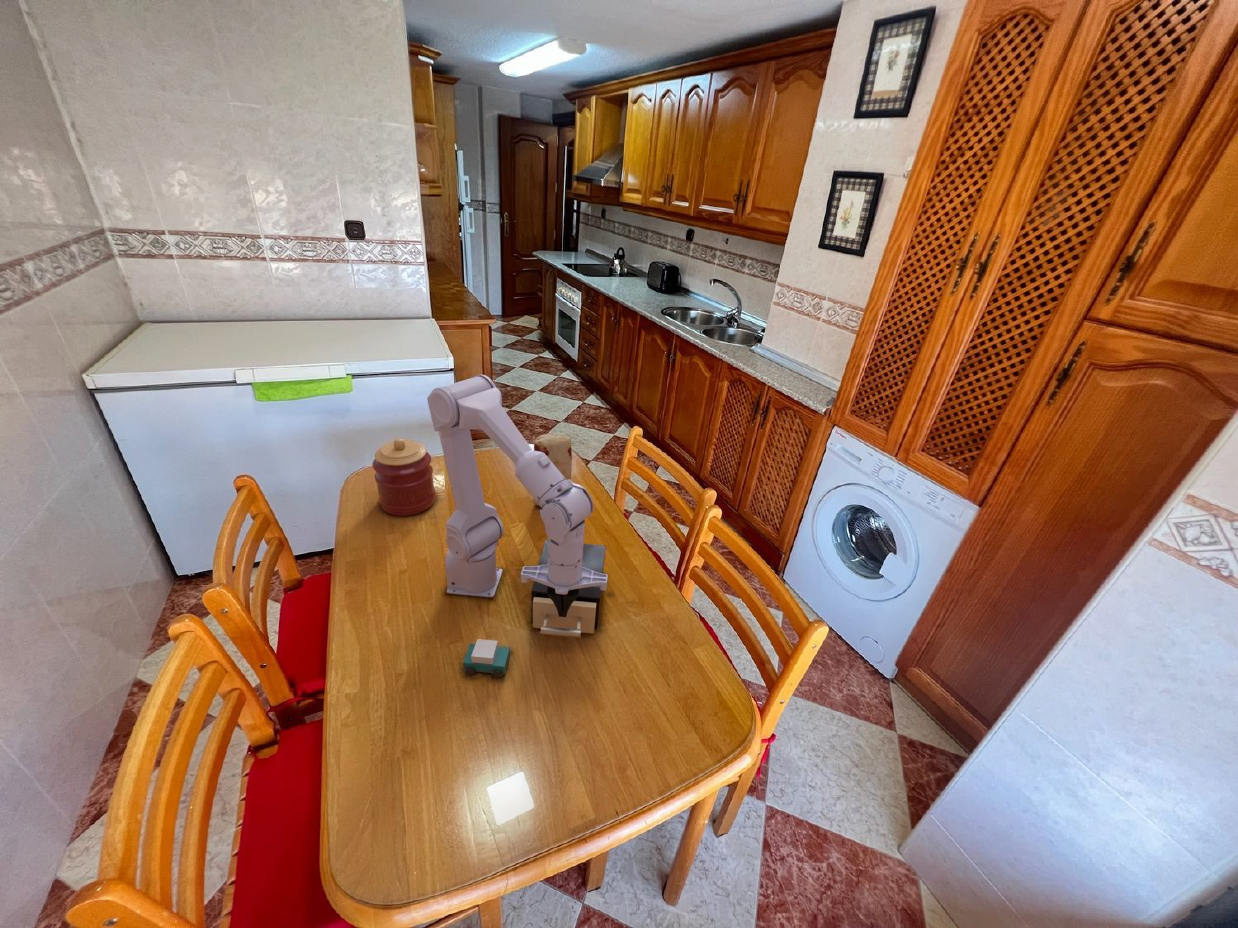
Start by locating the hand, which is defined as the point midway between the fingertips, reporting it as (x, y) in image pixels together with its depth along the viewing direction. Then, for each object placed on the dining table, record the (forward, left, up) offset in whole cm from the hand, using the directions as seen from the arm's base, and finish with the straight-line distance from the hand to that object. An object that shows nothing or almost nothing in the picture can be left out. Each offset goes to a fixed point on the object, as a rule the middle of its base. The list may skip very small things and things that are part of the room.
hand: (563, 612), depth 88 cm
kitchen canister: (-44, +37, -7) cm, 58 cm away
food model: (-9, +42, -7) cm, 44 cm away
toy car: (-12, -7, -7) cm, 15 cm away
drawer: (0, +6, -6) cm, 9 cm away
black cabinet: (0, +10, -7) cm, 13 cm away
